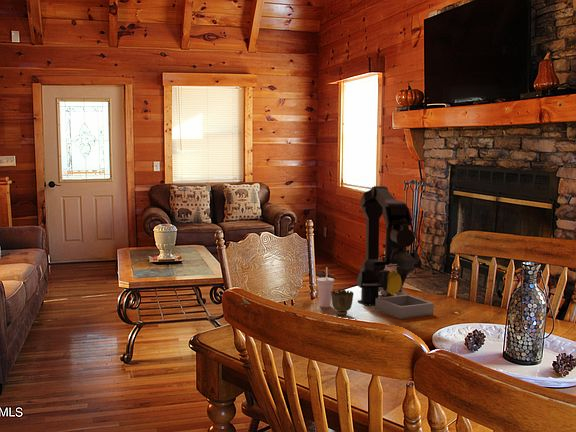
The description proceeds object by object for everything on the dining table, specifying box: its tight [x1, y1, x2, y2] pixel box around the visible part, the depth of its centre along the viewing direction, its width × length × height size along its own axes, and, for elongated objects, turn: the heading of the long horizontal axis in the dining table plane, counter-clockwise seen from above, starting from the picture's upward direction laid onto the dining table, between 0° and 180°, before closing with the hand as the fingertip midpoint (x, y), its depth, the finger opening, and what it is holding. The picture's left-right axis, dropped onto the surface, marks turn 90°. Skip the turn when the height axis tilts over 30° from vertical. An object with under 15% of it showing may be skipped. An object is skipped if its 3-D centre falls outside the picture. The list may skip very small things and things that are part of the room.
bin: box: [375, 294, 435, 320], centre depth 212 cm, size 14×14×4 cm
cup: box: [331, 289, 355, 317], centre depth 206 cm, size 8×7×8 cm
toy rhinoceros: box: [378, 284, 406, 296], centre depth 235 cm, size 7×12×8 cm, turn 50°
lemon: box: [387, 270, 402, 296], centre depth 197 cm, size 6×6×8 cm
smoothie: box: [316, 267, 335, 308], centre depth 218 cm, size 6×6×14 cm
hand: (392, 290), depth 198 cm, fingers closed on lemon, 5 cm apart
